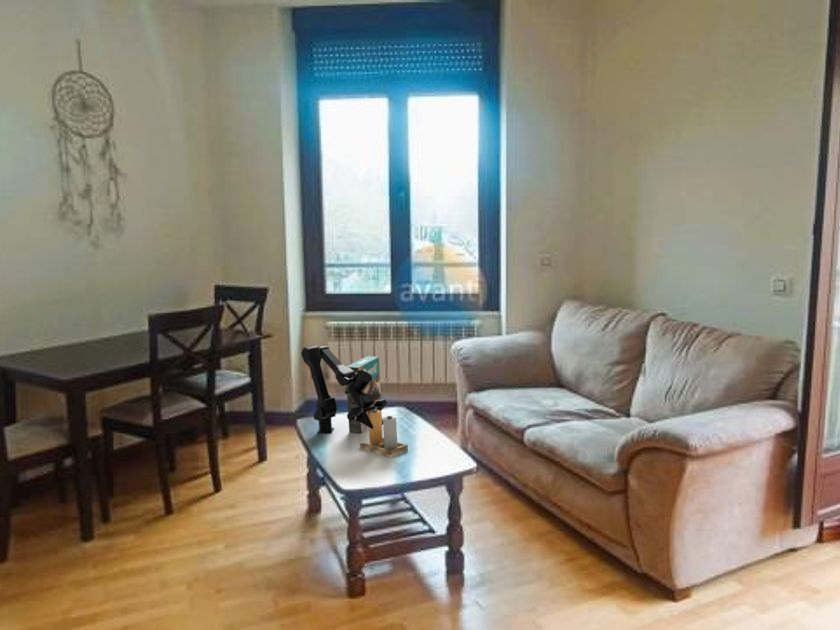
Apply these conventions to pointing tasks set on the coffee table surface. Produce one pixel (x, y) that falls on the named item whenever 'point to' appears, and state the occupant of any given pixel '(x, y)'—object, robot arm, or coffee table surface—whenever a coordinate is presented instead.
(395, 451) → the slot rack
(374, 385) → the cake mix box
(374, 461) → the coffee table surface
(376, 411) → the orange bottle
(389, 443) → the grey bottle
